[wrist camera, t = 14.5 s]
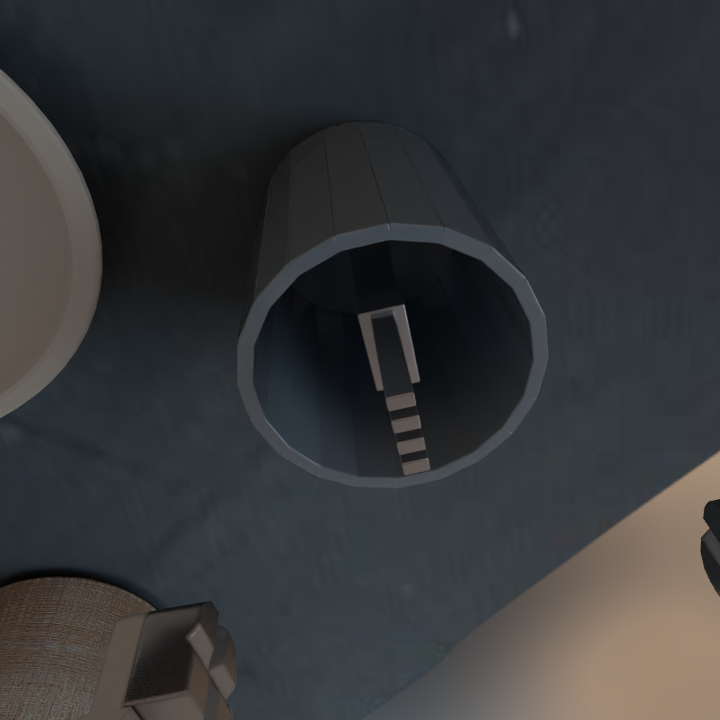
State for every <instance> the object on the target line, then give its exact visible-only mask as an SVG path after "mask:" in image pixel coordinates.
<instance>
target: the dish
mask: <svg viewBox="0 0 720 720" xmlns="http://www.w3.org/2000/svg"><path fill="white" fill-rule="evenodd" d="M102 269H103V267H102V243H101V236H100V230H99V223H98V219H97V215H96V211H95V208H94V204H93V201H92V197H91V195H90V192H89V190H88V187H87V185H86V182H85V180H84V178H83V175H82V173H81V171H80V169H79V167H78V165H77V163H76V162H75V160H74V158H73V156H72V154H71V152H70V151H69V149H68V147H67V146H66V144H65V143H64V141H63V140H62V138H61V137H60V135H59V134H58V132H57V131H56V129H55V128H54V126H53V125H52V124H51V122H50V121H49V120H48V119H47V117H46V116H45V115H44V114H43V113H42V111H41V110H40V109H39V108H38V107H37V105H36V104H35V103H34V102H33V101H32V99H31V98H30V97H29V96H28V95H27V94H26V93H25V92H24V91H23V90H22V89H21V88H20V87H19V86H18V85H17V84H16V83H15V82H14V81H13V80H12V79H11V78H10V77H9V76H8V75H7V74H5V73H4V72H3V71H2V70H1V69H0V418H1V417H3V416H5V415H7V414H8V413H10V412H12V411H13V410H15V409H17V408H18V407H20V406H21V405H22V404H24V403H25V402H27V401H28V400H29V399H31V398H32V397H34V396H35V395H36V394H37V393H39V392H40V391H41V390H42V389H43V388H44V387H45V386H46V385H48V384H49V383H50V382H51V381H52V380H53V379H54V378H55V377H56V376H57V375H58V374H59V372H60V371H61V370H62V369H63V368H64V367H65V366H66V365H67V363H68V362H69V360H70V359H71V358H72V356H73V355H74V353H75V352H76V351H77V349H78V348H79V346H80V344H81V342H82V340H83V338H84V336H85V335H86V333H87V331H88V329H89V326H90V323H91V321H92V318H93V316H94V313H95V310H96V306H97V302H98V298H99V293H100V288H101V278H102Z"/></svg>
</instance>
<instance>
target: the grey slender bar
mask: <svg viewBox="0 0 720 720" xmlns="http://www.w3.org/2000/svg"><path fill="white" fill-rule="evenodd" d="M348 250H349V257H350V263H351V270H352V276H353V283H354V289H355V296H356V298H355V303H356V310H357V316H358V320H359V324H360V328H361V332H362V336H363V340H364V344H365V348H366V352H367V356H368V360H369V364H370V367H371V371H372V375H373V379H374V383H375V387H376V390H377V391H381V390H384V395H385V400H386V404H387V408H388V411H389V415H390V420H391V425H392V429H393V432H394V435H395V440H396V445H397V449H398V453H399V455H400V460H401V465H402V469H403V473H404V475H409V474H414V473H418V472H423V471H428V470H430V464H429V459H428V455H427V451H426V445H425V440H424V436H423V432H422V428H421V422H420V417H419V413H418V409H417V405H416V399H415V394H414V390H413V386H412V383H417V382H420V376H419V371H418V366H417V361H416V356H415V352H414V347H413V342H412V337H411V332H410V327H409V322H408V318H407V313H406V308H405V304H404V300H403V297H402V293H401V290H400V288H399V286H398V282H397V279H396V275H395V272H394V268H393V265H392V261H391V258H390V254H389V250H388V247H387V243H386V241H383V242H378V243H374V244H370V245H365V246H361V247H357V248H352V249H348Z"/></svg>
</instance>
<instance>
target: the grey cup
mask: <svg viewBox="0 0 720 720" xmlns="http://www.w3.org/2000/svg"><path fill="white" fill-rule="evenodd" d="M383 241H386V243H387V247H388V250H389V254H390V258H391V261H392V265H393V268H394V272H395V275H396V279H397V282H398V286H399V288H400V290H401V293H402V297H403V300H404V304H405V308H406V313H407V318H408V322H409V327H410V332H411V337H412V342H413V347H414V352H415V356H416V361H417V366H418V371H419V376H420V382H417V383H412V386H413V390H414V394H415V399H416V405H417V409H418V413H419V417H420V422H421V428H422V432H423V436H424V440H425V445H426V451H427V455H428V459H429V464H430V470H428V471H423V472H418V473H414V474H409V475H404V473H403V469H402V465H401V460H400V455H399V453H398V449H397V445H396V440H395V435H394V432H393V429H392V425H391V420H390V415H389V411H388V408H387V404H386V400H385V395H384V390H381V391H377V390H376V387H375V383H374V379H373V375H372V371H371V367H370V364H369V360H368V356H367V352H366V348H365V344H364V340H363V336H362V332H361V328H360V324H359V320H358V316H357V310H356V303H355V298H356V296H355V289H354V283H353V276H352V270H351V263H350V257H349V250H348V249H352V248H357V247H361V246H365V245H370V244H374V243H378V242H383ZM548 357H549V356H548V341H547V327H546V318H545V314H544V312H543V310H542V308H541V306H540V304H539V302H538V300H537V298H536V296H535V294H534V292H533V289H532V287H531V285H530V283H529V281H528V279H527V278H526V276H525V275H524V273H523V272H522V270H521V269H520V267H519V266H518V264H517V263H516V262H515V260H514V259H513V257H512V256H511V254H510V253H509V251H508V250H507V248H506V247H505V245H504V244H503V242H502V241H501V239H500V238H499V237H498V235H497V234H496V232H495V231H494V229H493V228H492V226H491V225H490V223H489V222H488V220H487V219H486V217H485V216H484V214H483V213H482V212H481V210H480V209H479V207H478V206H477V204H476V203H475V201H474V200H473V198H472V197H471V195H470V194H469V192H468V191H467V189H466V188H465V187H464V185H463V184H462V182H461V181H460V179H459V178H458V176H457V175H456V173H455V172H454V170H453V169H452V167H451V166H450V165H449V163H448V162H447V161H446V160H445V159H444V158H443V157H442V156H441V155H440V154H439V153H438V152H437V151H436V149H435V148H434V147H433V146H431V145H430V144H429V143H428V142H426V141H425V140H424V139H422V138H421V137H419V136H417V135H416V134H414V133H412V132H410V131H408V130H406V129H403V128H401V127H398V126H395V125H391V124H387V123H383V122H374V121H353V122H347V123H341V124H337V125H334V126H331V127H328V128H325V129H323V130H321V131H319V132H316V133H314V134H312V135H311V136H309V137H308V138H306V139H305V140H303V141H301V142H300V143H299V144H298V145H297V146H295V147H294V148H293V149H292V150H291V151H290V152H289V153H288V154H287V155H286V156H285V157H284V158H283V160H282V161H281V162H280V163H279V165H278V166H277V168H276V169H275V171H274V172H273V174H272V176H271V178H270V180H269V182H268V184H267V186H266V189H265V193H264V196H263V199H262V203H261V205H260V209H259V214H258V220H257V226H256V232H255V238H254V244H253V250H252V256H251V262H250V268H249V274H248V281H247V287H246V293H245V299H244V305H243V311H242V317H241V323H240V329H239V335H238V341H237V388H238V390H239V393H240V396H241V398H242V401H243V403H244V406H245V408H246V411H247V414H248V416H249V419H250V421H251V423H252V425H253V426H254V427H255V428H256V430H257V431H258V432H259V433H260V434H261V435H262V436H263V438H264V439H265V440H266V441H267V442H268V443H269V444H270V446H271V447H272V448H273V449H274V450H275V451H276V452H277V454H279V455H280V456H281V457H283V458H285V459H286V460H288V461H290V462H291V463H293V464H295V465H296V466H298V467H300V468H301V469H303V470H305V471H306V472H308V473H310V474H311V475H314V476H316V477H319V478H323V479H326V480H330V481H334V482H337V483H341V484H345V485H348V486H352V487H362V488H402V487H407V486H411V485H416V484H421V483H426V482H430V481H435V480H439V479H442V478H444V477H447V476H449V475H451V474H453V473H455V472H457V471H459V470H461V469H463V468H466V467H468V466H470V465H472V464H474V463H476V462H478V461H479V460H481V459H482V458H484V457H485V456H486V455H487V454H489V453H490V452H491V451H492V450H493V449H495V448H496V447H497V446H498V445H499V444H501V443H502V442H503V441H504V440H506V439H507V438H508V437H509V436H510V435H512V433H513V432H514V431H515V430H516V428H517V427H518V425H519V424H520V422H521V421H522V419H523V418H524V417H525V415H526V414H527V412H528V411H529V409H530V408H531V406H532V405H533V404H534V402H535V401H536V398H537V396H538V393H539V390H540V386H541V383H542V380H543V376H544V373H545V370H546V366H547V363H548Z"/></svg>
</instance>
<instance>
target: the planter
mask: <svg viewBox="0 0 720 720" xmlns="http://www.w3.org/2000/svg"><path fill="white" fill-rule="evenodd" d="M155 610H157V609H156V608H155V607H154V606H153V605H152V604H150V603H149V602H148V601H146V600H145V599H143V598H142V597H140V596H138V595H136V594H135V593H133V592H131V591H129V590H127V589H125V588H123V587H120V586H117V585H114V584H111V583H108V582H104V581H101V580H97V579H92V578H86V577H76V576H62V575H57V576H44V577H36V578H30V579H25V580H21V581H17V582H14V583H11V584H8V585H5V586H3V587H0V720H77V719H78V718H79V717H80V716H83V715H87V714H89V711H90V708H91V705H92V701H93V698H94V694H95V691H96V687H97V684H98V681H99V677H100V674H101V670H102V667H103V663H104V660H105V657H106V653H107V650H108V646H109V643H110V639H111V636H112V632H113V629H114V626H115V625H116V623H117V622H118V620H119V619H120V618H121V617H122V616H128V615H133V614H138V613H144V612H149V611H155Z"/></svg>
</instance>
